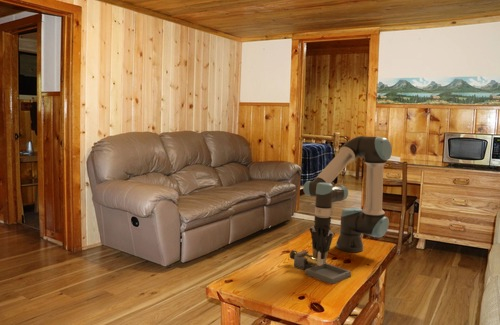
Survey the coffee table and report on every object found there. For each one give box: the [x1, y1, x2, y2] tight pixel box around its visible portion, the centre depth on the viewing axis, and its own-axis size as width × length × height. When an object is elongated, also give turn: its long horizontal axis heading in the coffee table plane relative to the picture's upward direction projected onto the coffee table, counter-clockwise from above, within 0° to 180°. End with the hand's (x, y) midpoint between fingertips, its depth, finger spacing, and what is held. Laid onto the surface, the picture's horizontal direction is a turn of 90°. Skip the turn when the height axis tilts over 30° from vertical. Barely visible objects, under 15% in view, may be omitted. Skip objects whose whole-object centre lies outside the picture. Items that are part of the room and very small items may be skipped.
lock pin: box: [289, 249, 318, 266], centre depth 199 cm, size 4×16×4 cm, turn 44°
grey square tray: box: [304, 262, 352, 285], centre depth 191 cm, size 15×15×2 cm
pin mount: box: [293, 249, 314, 272], centre depth 200 cm, size 7×6×7 cm
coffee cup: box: [311, 233, 329, 263], centre depth 207 cm, size 10×10×15 cm
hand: (320, 264), depth 193 cm, fingers closed
